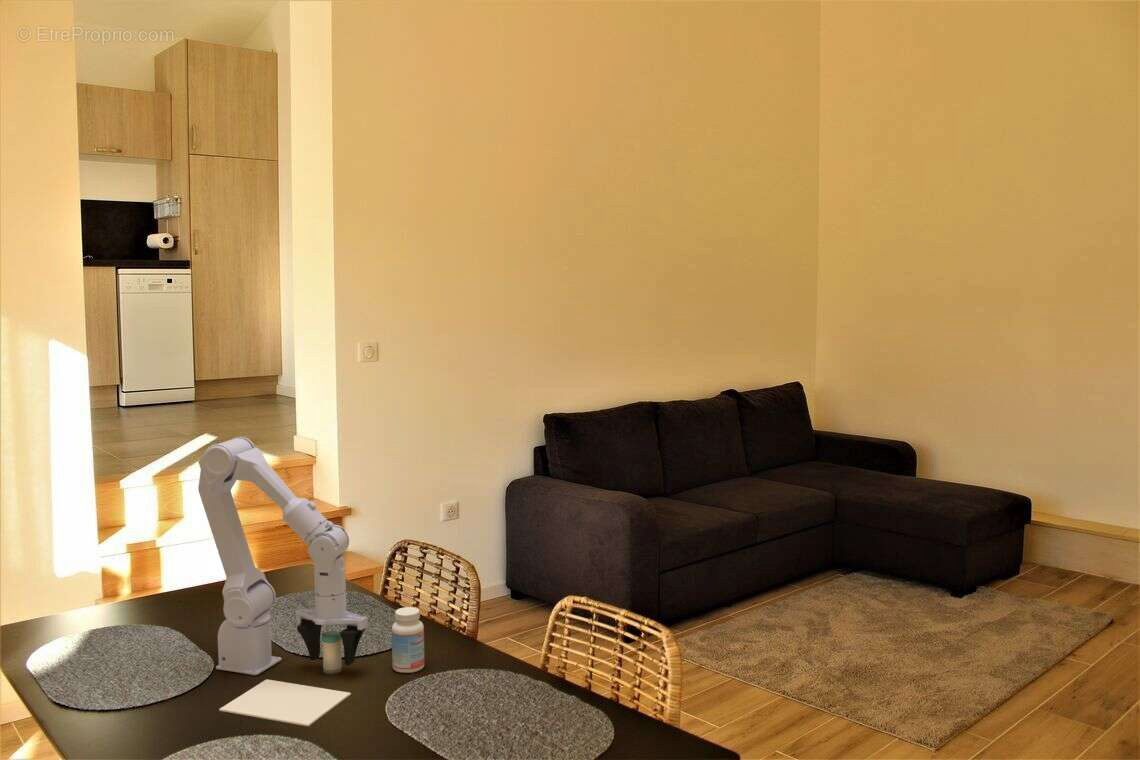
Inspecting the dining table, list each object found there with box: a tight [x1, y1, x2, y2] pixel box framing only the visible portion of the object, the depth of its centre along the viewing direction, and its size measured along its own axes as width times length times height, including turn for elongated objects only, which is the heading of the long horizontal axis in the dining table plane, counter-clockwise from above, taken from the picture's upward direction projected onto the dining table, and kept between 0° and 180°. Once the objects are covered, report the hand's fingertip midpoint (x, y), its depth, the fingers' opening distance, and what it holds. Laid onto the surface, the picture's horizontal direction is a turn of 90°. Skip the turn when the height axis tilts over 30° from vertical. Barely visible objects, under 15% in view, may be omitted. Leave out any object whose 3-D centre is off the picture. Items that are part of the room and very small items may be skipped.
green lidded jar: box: [321, 630, 343, 675], centre depth 180 cm, size 4×4×7 cm
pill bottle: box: [391, 606, 425, 674], centre depth 181 cm, size 6×6×11 cm
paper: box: [218, 679, 352, 727], centre depth 167 cm, size 18×13×1 cm
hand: (332, 661), depth 180 cm, fingers open, 7 cm apart
